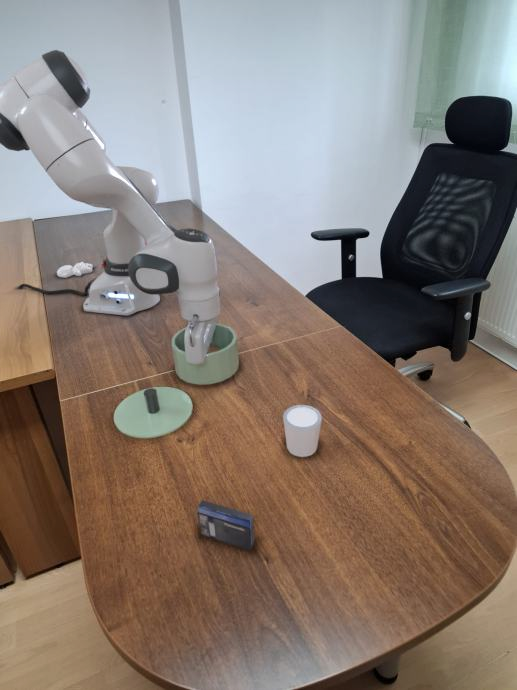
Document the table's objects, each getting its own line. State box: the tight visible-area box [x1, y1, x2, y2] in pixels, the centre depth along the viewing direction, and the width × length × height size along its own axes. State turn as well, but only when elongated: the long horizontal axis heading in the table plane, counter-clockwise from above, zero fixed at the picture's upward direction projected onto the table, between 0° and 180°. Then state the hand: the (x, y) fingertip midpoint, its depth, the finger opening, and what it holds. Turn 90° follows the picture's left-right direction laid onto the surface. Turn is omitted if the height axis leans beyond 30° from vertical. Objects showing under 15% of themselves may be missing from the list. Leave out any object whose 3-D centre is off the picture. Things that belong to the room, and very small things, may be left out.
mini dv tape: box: [197, 499, 256, 551], centre depth 68 cm, size 8×2×6 cm, turn 69°
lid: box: [113, 386, 194, 439], centre depth 93 cm, size 16×16×6 cm
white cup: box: [282, 404, 323, 458], centre depth 83 cm, size 7×7×7 cm
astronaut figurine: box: [56, 261, 94, 279], centre depth 162 cm, size 9×12×3 cm
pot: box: [170, 322, 240, 386], centre depth 106 cm, size 15×15×8 cm
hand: (205, 359), depth 107 cm, fingers closed on mushroom, 7 cm apart
